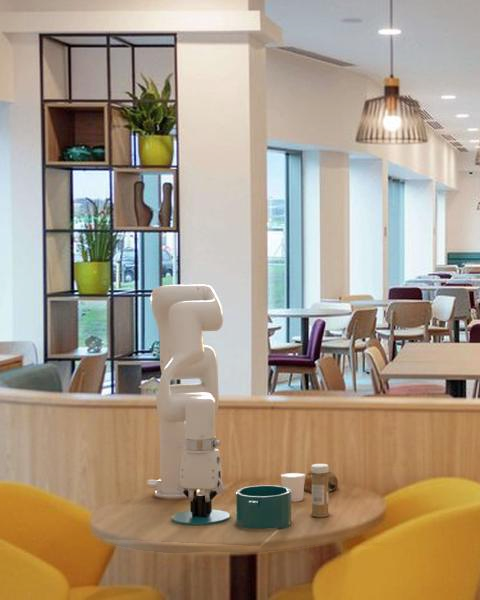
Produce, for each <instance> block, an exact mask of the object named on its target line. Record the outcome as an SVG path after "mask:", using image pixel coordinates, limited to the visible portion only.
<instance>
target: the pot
mask: <svg viewBox="0 0 480 600" xmlns="http://www.w3.org/2000/svg"><path fill="white" fill-rule="evenodd" d="M235 523H236V526H238V527H241V528H244V529H245V528H246V529H253V530H266V529H268V530H269V529H276V530H282V529H285V528H287V527H289V526H291V523H292V501H291V490H290V489H289V488H286V487H283V486H282V485H271V484H270V485H269V484H264V485H263V484H262V485H251V486H245V487H241V488H238V489H237V490H236V491H235Z"/></svg>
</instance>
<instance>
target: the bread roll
mask: <svg viewBox="0 0 480 600" xmlns="http://www.w3.org/2000/svg"><path fill="white" fill-rule="evenodd" d="M338 486H339V481H338V478H337V476H336V474H335V473H334V472H332V471H331V470H330V469H329V472H328V493H330V492H332V491H335V490H336V489H338ZM304 490H305V491H306V492H309V493H312V472H311V470H310V471H308V472H307V473H305V481H304Z"/></svg>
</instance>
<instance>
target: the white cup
mask: <svg viewBox="0 0 480 600" xmlns="http://www.w3.org/2000/svg"><path fill="white" fill-rule="evenodd" d="M305 475H306V473H302V472H286V473H281V474H280V483H281V486H283V487H286V488H289V489H290V490H291V503H292V502H296V503H297V502H301V501H304V493H305V491H304V490H305V489H304V481H305Z"/></svg>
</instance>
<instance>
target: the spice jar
mask: <svg viewBox="0 0 480 600" xmlns="http://www.w3.org/2000/svg"><path fill="white" fill-rule="evenodd" d="M329 470H330V468H329V464H327V463H313V464H312V465H311V466H310V471H311V472H312V492H311V516H312V517H313V518H326V517H328V516H329V514H330V513H329V492H328V472H329Z"/></svg>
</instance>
